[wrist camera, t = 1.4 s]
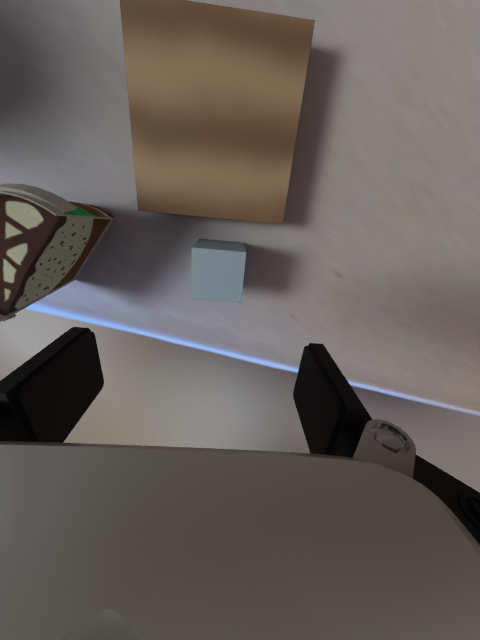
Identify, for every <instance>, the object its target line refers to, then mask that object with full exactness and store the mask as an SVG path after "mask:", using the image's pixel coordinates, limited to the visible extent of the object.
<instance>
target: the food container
mask: <svg viewBox="0 0 480 640" xmlns="http://www.w3.org/2000/svg"><path fill="white" fill-rule="evenodd" d="M113 219H114V217H112V216H111V215H109V214H108V213H107V212H105V211H103V210H101V209H98V208H96V207H93V206H91V205H87V204H81V203H75V202H69V201H66V200H65V199H63V198H61V197H59V196H57V195H55V194H53V193H51V192H49V191H46V190H43V189H40V188H38V187H34V186H29V185H24V184H2V185H0V321H5V320H8V319H11V318H13V317H15V316H16V315H15V313H17V312H19V311H20V310H22V309H24V308H26V307H28V306H29V305H31V304H33V303H35V302H36V301H38V300H40V299H42V298H44V297H45V296H47V295H49V294H51V293H52V292H54V291H56V290H58V289H60V288H61V287H63V286H65V285H67V284H69V283H70V282H72V281H74V280H75V279H76V277H77V276H78V274H79V272H80V271H81V269H82V268H83V266H84V265H85V263H86V261H87V260H88V258H89V257H90V255H91V254H92V252H93V251H94V249H95V247H96V246H97V244H98V243H99V241H100V240H101V238H102V236H103V235H104V233H105V232H106V230H107V229H108V227H109V225H110V224H111V222H112V221H113Z"/></svg>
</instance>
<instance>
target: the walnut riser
mask: <svg viewBox="0 0 480 640" xmlns="http://www.w3.org/2000/svg"><path fill="white" fill-rule="evenodd" d="M120 7H121V19H122V30H123V41H124V53H125V64H126V75H127V87H128V98H129V110H130V121H131V132H132V144H133V155H134V166H135V178H136V189H137V200H138V210H139V211H150V212H160V213H170V214H180V215H191V216H201V217H211V218H221V219H231V220H242V221H252V222H262V223H272V224H283V218H284V212H285V205H286V199H287V193H288V186H289V180H290V174H291V167H292V161H293V155H294V149H295V142H296V136H297V130H298V123H299V117H300V111H301V104H302V98H303V92H304V86H305V79H306V73H307V67H308V60H309V54H310V48H311V41H312V35H313V29H314V22H315V20H309V19H303V18H296V17H290V16H284V15H277V14H271V13H264V12H258V11H251V10H245V9H238V8H232V7H225V6H219V5H212V4H206V3H199V2H193V1H187V0H120Z"/></svg>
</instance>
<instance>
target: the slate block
mask: <svg viewBox="0 0 480 640" xmlns="http://www.w3.org/2000/svg"><path fill="white" fill-rule="evenodd" d="M245 261H246V249H245V246H244V243H240V242H229V241H218V240H208V239H199V240H198V241H197V242H196V243H195V244H194V245H193V246H192V281H191V299H199V300H212V301H225V302H238V303H241V300H242V290H243V281H244V271H245Z"/></svg>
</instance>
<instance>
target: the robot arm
mask: <svg viewBox="0 0 480 640" xmlns="http://www.w3.org/2000/svg"><path fill="white" fill-rule="evenodd" d="M103 384H104V379H103V374H102V369H101V364H100V359H99V354H98V349H97V344H96V339H95V334H94V333H93V332H91V331H90V329H89V328H80V327H73V328H71V329H69V330H68V331H67V332H65V333H64V334H63V335H61V336H60V337H59V338H57V339H56V340H55V341H53V342H52V343H51V344H49V345H48V346H47V347H46V348H44V349H43V350H41V351H40V352H39V353H37V354H36V355H35V356H33V357H32V358H31V359H29V360H28V361H26V362H25V363H24V364H23V365H21V366H20V367H18V368H17V369H16V370H14V371H13V372H12V373H10V374H9V375H8V376H6V377H5V378H4V379H2V380H1V381H0V640H480V493H479V492H477V491H476V490H474V489H472V488H471V487H469V486H467V485H466V484H464V483H463V482H461V481H459V480H458V479H456V478H454V477H453V476H451V475H449V474H448V473H446V472H444V471H443V470H441V469H439V468H437V467H436V466H434V465H432V464H431V463H429V462H427V461H426V460H424V459H422V458H421V457H419V456H417V455H416V448H415V444H414V443H413V440H412V439H411V438H410V437H409V436H408V434H407V433H406V432H404V431H403V430H402V429H401V428H399V427H398V426H396V425H394V424H392V423H390V422H388V421H385V420H380V419H373V420H372V418H371V417H370V415H369V414H368V412H367V411H366V409H365V408H364V406H363V404H362V403H361V401H360V400H359V398H358V397H357V395H356V394H355V392H354V391H353V389H352V387H351V386H350V384H349V383H348V381H347V380H346V378H345V377H344V376H343V374H342V373H341V371H340V370H339V368H338V366H337V365H336V363H335V362H334V360H333V359H332V357H331V356H330V354H329V353H328V351H327V349H326V348H325V346H324V345H323V344H314V343H310V344H309V345H308V346H305V347H304V351H303V355H302V359H301V363H300V367H299V371H298V375H297V379H296V383H295V387H294V392H293V397H294V401H295V404H296V408H297V411H298V414H299V418H300V421H301V424H302V427H303V430H304V434H305V437H306V440H307V443H308V447H309V450H310V453H311V454H310V453H294V452H278V451H257V450H235V449H213V448H190V447H163V446H140V445H137V446H136V445H113V444H82V443H81V444H80V443H63V442H64V440H65V439H66V438H67V436H68V435H69V433H70V432H71V431H72V429H73V428H74V427H75V425H76V424H77V422H78V421H79V420H80V418H81V417H82V415H83V414H84V413H85V411H86V410H87V409H88V407H89V406H90V404H91V403H92V402H93V400H94V399H95V398H96V396H97V395H98V393H99V392H100V391H101V389H102V387H103Z"/></svg>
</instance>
